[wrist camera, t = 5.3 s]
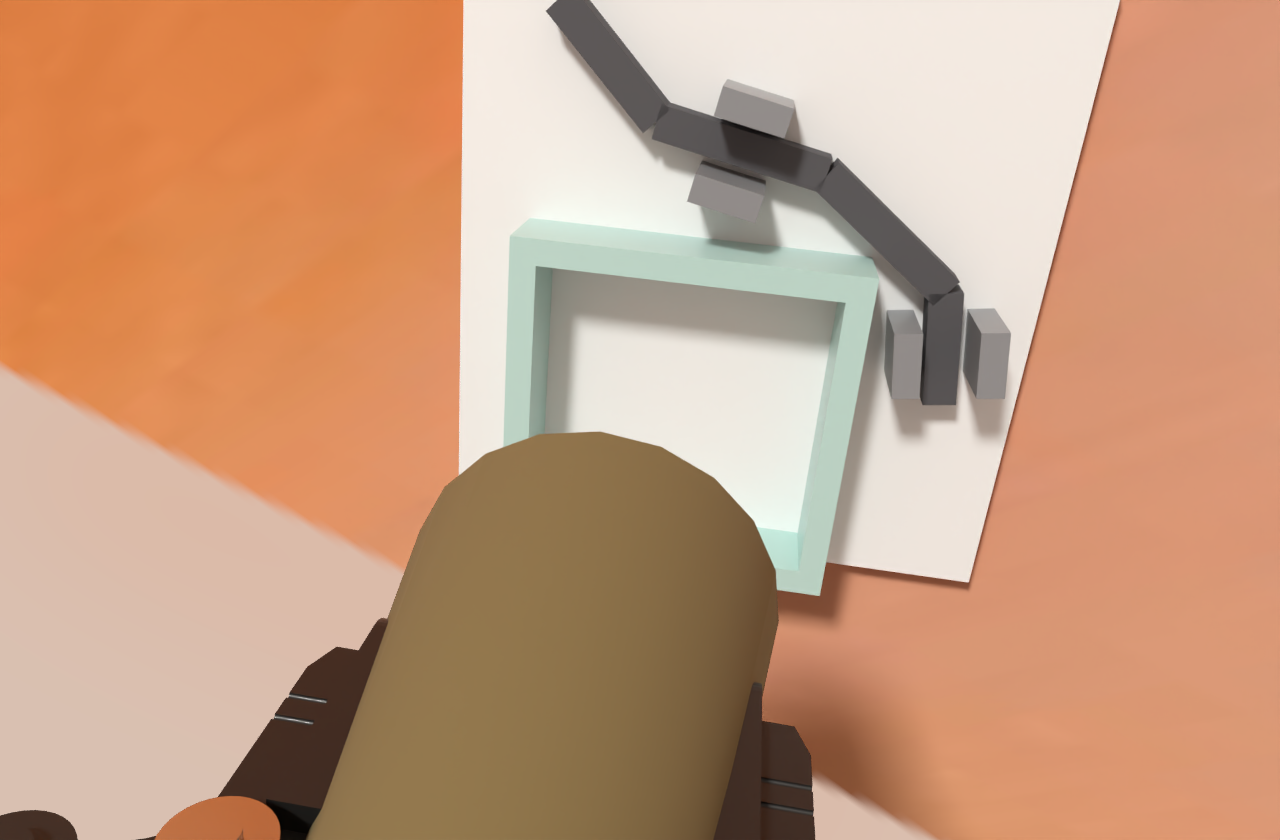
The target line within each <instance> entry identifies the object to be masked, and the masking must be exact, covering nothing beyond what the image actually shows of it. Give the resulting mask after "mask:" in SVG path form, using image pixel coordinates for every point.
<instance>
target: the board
mask: <svg viewBox="0 0 1280 840" xmlns="http://www.w3.org/2000/svg"><path fill="white" fill-rule="evenodd" d="M556 1H557V0H464V19H463V117H462V216H461V315H460V413H459V475H460V474H461V473H463V472H464V471H465V470H466V469H467V468H469V467H470V466H471V465H472V464H473V463H475V462H476V461H477V460H478V459H480V458H481V457H482V456H483V455H484V454H486V453H489V452H491V451H494V450H497V449H500V448H502V447H503V441H504V408H505V375H506V342H507V309H508V276H509V243H510V235H511V234H512V233H513V232H515V231H516V230H517V229H518V228H519V227H520V226H521V225H523V224H524V223H525V222H526V221H527V220H528V219H529V218H536V219H544V220H553V221H562V222H570V223H579V224H588V225H597V226H605V227H614V228H623V229H631V230H640V231H649V232H658V233H666V234H675V235H684V236H693V237H701V238H710V239H719V240H727V241H736V242H745V243H754V244H762V245H771V246H780V247H788V248H797V249H806V250H815V251H823V252H832V253H841V254H849V255H858V256H867V257H872V258H873V261H874V264H875V267H876V270H877V273H878V276H879V284H878V289H877V294H876V300H875V305H874V310H873V316H872V321H871V326H870V332H869V337H868V342H867V347H866V353H865V358H864V363H863V369H862V374H861V379H860V385H859V390H858V395H857V401H856V406H855V411H854V417H853V422H852V427H851V432H850V438H849V443H848V448H847V454H846V459H845V464H844V470H843V475H842V480H841V486H840V491H839V496H838V501H837V507H836V512H835V517H834V523H833V528H832V533H831V539H830V544H829V549H828V555H827V560H826V562H828V563H835V564H842V565H849V566H856V567H863V568H870V569H877V570H884V571H891V572H898V573H906V574H913V575H920V576H927V577H934V578H941V579H948V580H955V581H962V582H969V579H970V575H971V571H972V568H973V564H974V560H975V556H976V552H977V548H978V545H979V541H980V537H981V533H982V529H983V525H984V521H985V518H986V514H987V510H988V506H989V502H990V498H991V495H992V491H993V487H994V483H995V479H996V475H997V471H998V468H999V464H1000V460H1001V456H1002V452H1003V448H1004V445H1005V441H1006V437H1007V433H1008V429H1009V425H1010V421H1011V418H1012V414H1013V410H1014V406H1015V402H1016V398H1017V395H1018V391H1019V387H1020V383H1021V379H1022V375H1023V371H1024V368H1025V364H1026V360H1027V356H1028V352H1029V348H1030V345H1031V341H1032V337H1033V333H1034V329H1035V325H1036V321H1037V318H1038V314H1039V310H1040V306H1041V302H1042V298H1043V295H1044V291H1045V287H1046V283H1047V279H1048V275H1049V271H1050V268H1051V264H1052V260H1053V256H1054V252H1055V248H1056V245H1057V241H1058V237H1059V233H1060V229H1061V225H1062V221H1063V218H1064V214H1065V210H1066V206H1067V202H1068V198H1069V195H1070V191H1071V187H1072V183H1073V179H1074V175H1075V171H1076V168H1077V164H1078V160H1079V156H1080V152H1081V148H1082V145H1083V141H1084V137H1085V133H1086V129H1087V125H1088V121H1089V118H1090V114H1091V110H1092V106H1093V102H1094V98H1095V95H1096V91H1097V87H1098V83H1099V79H1100V75H1101V71H1102V68H1103V64H1104V60H1105V56H1106V52H1107V48H1108V45H1109V41H1110V37H1111V33H1112V29H1113V25H1114V21H1115V18H1116V14H1117V10H1118V6H1119V2H1120V0H590V1H591V2H592V3H593V4H594V6H595V7H596V8H597V10H598V11H599V12H600V13H601V15H602V16H603V17H604V19H605V20H606V21H607V22H608V24H609V25H610V26H611V27H612V29H613V30H614V31H615V33H616V34H617V35H618V36H619V38H620V39H621V40H622V42H623V43H624V44H625V45H626V47H627V48H628V49H629V50H630V52H631V53H632V54H633V56H634V57H635V58H636V59H637V61H638V62H639V63H640V65H641V66H642V67H643V68H644V70H645V71H646V72H647V73H648V75H649V76H650V77H651V79H652V80H653V81H654V82H655V84H656V85H657V86H658V88H659V89H660V90H661V91H662V93H663V94H664V95H665V96H666V98H667V99H668V100H669V102H670V103H674V104H677V105H680V106H683V107H686V108H689V109H692V110H695V111H699V112H702V113H705V114H708V115H711V116H714V117H717V118H721V119H724V120H727V121H730V122H733V123H736V124H739V125H742V126H746V127H749V128H752V129H755V130H758V131H761V132H764V133H768V134H771V135H774V136H777V137H780V138H783V139H786V140H789V141H793V142H796V143H799V144H802V145H805V146H808V147H811V148H815V149H818V150H821V151H824V152H827V153H830V154H831V155H832V158H833V160H832V163H833V162H834V161H835V160H836V159H837V158H839V159H840V160H841V161H842V162H843V163H844V164H845V165H846V166H847V167H848V168H849V169H850V170H851V171H852V172H853V173H854V174H855V175H856V176H857V177H858V178H859V179H860V180H861V181H862V182H863V183H864V184H865V185H866V186H867V187H868V188H869V189H870V190H871V191H872V192H873V193H874V194H875V195H876V196H877V197H878V198H879V199H880V200H881V201H882V202H883V203H884V204H885V205H886V206H887V207H888V208H889V209H890V210H891V211H892V212H893V213H894V214H895V215H896V216H897V217H898V218H899V219H900V220H901V221H902V222H903V223H904V224H905V225H906V226H907V227H908V228H909V229H910V230H911V231H912V232H913V233H914V234H915V235H916V236H917V237H918V238H919V239H920V240H921V241H923V242H924V243H925V244H926V245H927V246H928V247H929V248H930V249H931V250H932V251H933V252H934V253H935V254H936V255H937V256H938V257H939V258H940V259H941V260H942V261H943V262H944V263H945V264H946V265H947V266H948V267H949V268H950V269H951V270H952V271H953V272H954V273H955V275H956V276H957V278H958V280H959V281H960V282H959V283H958V284H959V285H960V287H961V289H962V290H963V292H964V305H963V319H962V332H961V346H960V359H959V372H958V386H957V399H956V405H922V402H921V399H920V381H921V364H922V347H923V332H922V325H923V307H924V296H923V295H922V294H921V293H920V292H919V291H918V290H917V289H916V288H915V287H914V286H913V285H912V284H911V283H910V282H909V281H908V280H907V279H906V278H905V277H903V276H902V275H901V274H900V273H899V272H898V271H897V270H896V269H895V268H894V267H893V266H892V265H891V264H890V263H889V262H888V261H887V260H886V259H885V258H884V257H883V256H882V255H881V254H880V253H879V252H878V251H877V250H876V249H875V248H874V247H873V246H872V245H871V244H870V243H869V242H868V241H867V240H866V239H865V238H863V237H862V236H861V235H860V234H859V233H858V232H857V231H856V230H855V229H854V228H853V227H852V226H851V225H850V224H849V223H848V222H847V221H846V220H845V219H844V218H843V217H842V216H841V215H840V214H839V213H838V212H837V211H836V210H835V209H834V208H833V207H832V206H831V205H830V204H829V203H828V202H827V201H826V200H824V199H823V198H822V197H821V196H820V195H819V194H818V193H817V192H816V191H812V190H809V189H806V188H803V187H800V186H797V185H794V184H790V183H787V182H784V181H781V180H778V179H775V178H772V177H769V176H765V175H762V174H759V173H756V172H753V171H750V170H747V169H744V168H740V167H737V166H734V165H731V164H728V163H725V162H722V161H718V160H715V159H712V158H709V157H706V156H703V155H700V154H697V153H693V152H690V151H687V150H684V149H681V148H678V147H675V146H671V145H668V144H665V143H662V142H659V141H656V140H653V139H652V135H653V132H654V128H655V125H656V123H654V124H653V125H652V126H651V127H650V128H649V129H647V130H646V131H645V132H644V133H642V131H641V130H640V129H639V128H638V126H637V125H636V124H635V122H634V121H633V120H632V119H631V117H630V116H629V115H628V114H627V112H626V111H625V110H624V109H623V107H622V106H621V105H620V104H619V102H618V101H617V100H616V99H615V97H614V96H613V95H612V94H611V92H610V91H609V90H608V89H607V87H606V86H605V85H604V84H603V82H602V81H601V80H600V79H599V77H598V76H597V75H596V74H595V72H594V71H593V70H592V69H591V67H590V66H589V65H588V64H587V62H586V61H585V60H584V59H583V57H582V56H581V55H580V53H579V52H578V51H577V50H576V48H575V47H574V46H573V45H572V43H571V42H570V41H569V40H568V38H567V37H566V36H565V35H564V33H563V32H562V31H561V30H560V28H559V27H558V26H557V25H556V23H555V22H554V21H553V20H552V18H551V17H550V16H549V15H548V13H547V12H546V10H547V9H548V8H549V7H550V6H551V5H552V4H553V3H554V2H556ZM832 163H831V164H832ZM836 307H837V302H834V301H826V300H818V299H809V298H801V297H792V296H784V295H776V294H767V293H759V292H750V291H742V290H734V289H725V288H717V287H708V286H700V285H692V284H683V283H675V282H666V281H658V280H650V279H641V278H633V277H624V276H616V275H608V274H599V273H591V272H582V271H574V270H566V269H557V268H553V274H552V294H551V314H550V335H549V355H548V376H547V396H546V416H545V434H552V433H576V432H599V431H600V432H604V433H608V434H612V435H616V436H620V437H624V438H628V439H632V440H636V441H640V442H645V443H649V444H653V445H657V446H661V447H663V448H664V449H666V450H668V451H669V452H671V453H673V454H675V455H676V456H678V457H680V458H681V459H683V460H685V461H687V462H688V463H690V464H692V465H693V466H695V467H697V468H698V469H700V470H702V471H704V472H705V473H707V474H709V475H710V476H712V477H714V478H715V479H716V480H717V481H718V482H719V483H720V484H721V486H722V487H723V488H724V489H725V490H726V491H727V492H728V493H729V494H730V495H731V496H732V498H733V499H734V500H735V501H736V502H737V503H738V504H739V505H740V506H741V507H742V508H743V510H744V511H745V512H746V513H747V514H748V515H749V516H750V517H751V518H752V519H753V520H754V522H755V524H756V527H760V528H767V529H774V530H782V531H789V532H796V533H798V528H799V522H800V516H801V510H802V504H803V499H804V493H805V487H806V481H807V475H808V470H809V464H810V458H811V452H812V446H813V441H814V435H815V429H816V423H817V417H818V412H819V406H820V400H821V394H822V388H823V383H824V377H825V371H826V365H827V359H828V353H829V348H830V342H831V336H832V330H833V324H834V319H835V313H836Z"/></svg>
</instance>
